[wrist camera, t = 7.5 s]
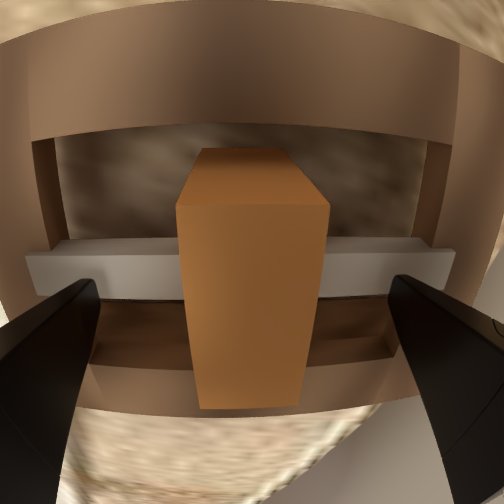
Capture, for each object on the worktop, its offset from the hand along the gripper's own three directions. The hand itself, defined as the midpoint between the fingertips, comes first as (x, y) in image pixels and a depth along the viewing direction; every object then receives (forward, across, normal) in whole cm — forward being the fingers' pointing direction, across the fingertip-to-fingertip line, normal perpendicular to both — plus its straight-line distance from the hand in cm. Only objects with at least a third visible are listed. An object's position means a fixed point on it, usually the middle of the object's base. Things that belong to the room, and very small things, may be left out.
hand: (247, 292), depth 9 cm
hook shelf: (+8, 0, 0) cm, 8 cm away
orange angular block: (+5, 0, 0) cm, 5 cm away
